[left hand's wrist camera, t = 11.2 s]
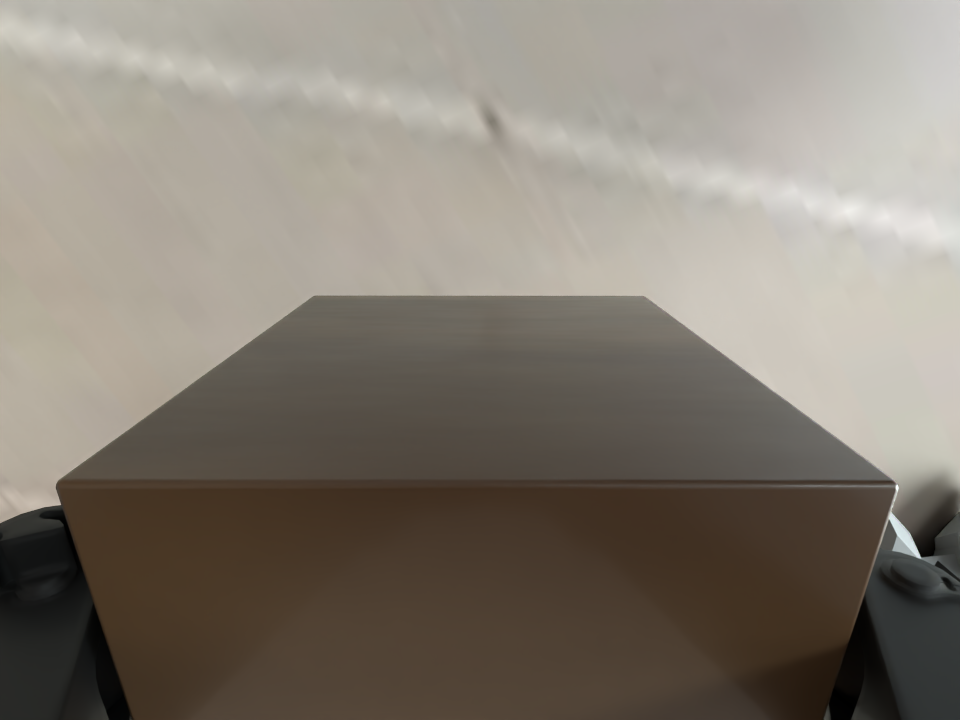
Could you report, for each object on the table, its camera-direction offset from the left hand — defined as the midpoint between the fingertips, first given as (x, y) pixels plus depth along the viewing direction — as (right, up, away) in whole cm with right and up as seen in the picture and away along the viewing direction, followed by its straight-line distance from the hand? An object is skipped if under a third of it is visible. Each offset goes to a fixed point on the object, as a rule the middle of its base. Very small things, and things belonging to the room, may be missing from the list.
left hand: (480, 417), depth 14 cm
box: (0, -7, +3) cm, 8 cm away
